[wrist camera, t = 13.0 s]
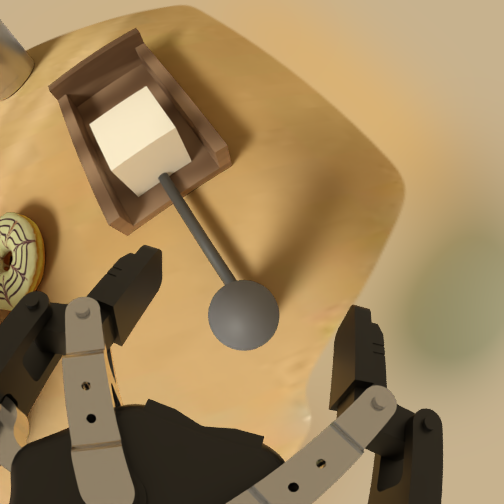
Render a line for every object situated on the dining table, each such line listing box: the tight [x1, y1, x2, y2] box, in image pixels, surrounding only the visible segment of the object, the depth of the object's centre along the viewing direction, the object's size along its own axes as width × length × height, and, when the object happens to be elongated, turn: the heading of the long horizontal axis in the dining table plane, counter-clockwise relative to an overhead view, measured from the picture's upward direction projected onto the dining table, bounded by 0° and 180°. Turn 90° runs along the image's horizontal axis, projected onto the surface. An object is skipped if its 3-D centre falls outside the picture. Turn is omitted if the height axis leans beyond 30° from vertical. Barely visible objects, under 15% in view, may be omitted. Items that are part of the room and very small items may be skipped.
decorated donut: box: [0, 212, 45, 311], centre depth 26 cm, size 10×11×4 cm
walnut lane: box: [48, 28, 232, 236], centre depth 27 cm, size 20×12×6 cm, turn 34°
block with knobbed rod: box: [89, 86, 279, 350], centre depth 22 cm, size 22×6×10 cm, turn 34°
